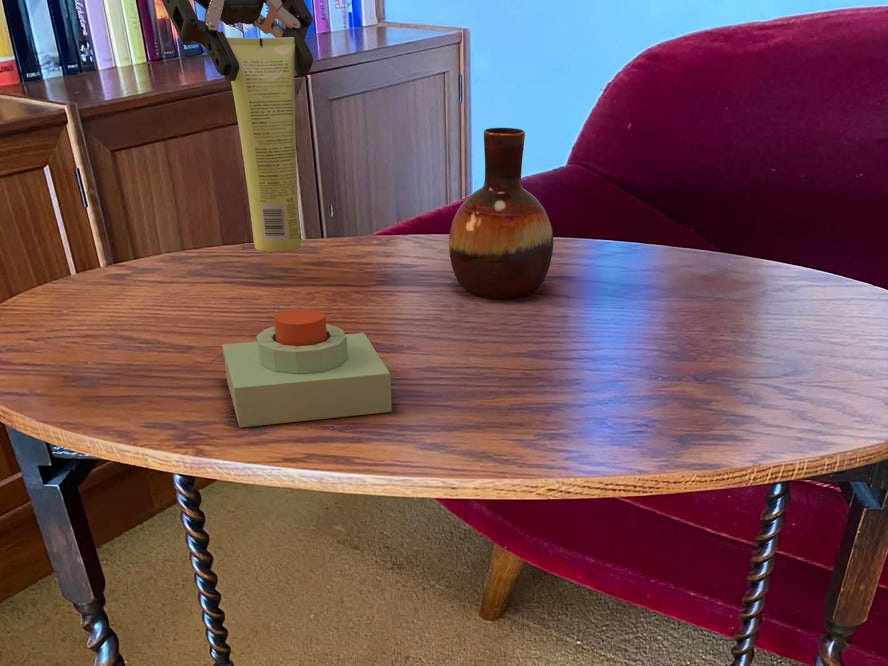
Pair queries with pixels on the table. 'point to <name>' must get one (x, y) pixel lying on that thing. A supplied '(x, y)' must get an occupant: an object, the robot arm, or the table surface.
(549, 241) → the vase
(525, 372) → the table surface
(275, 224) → the tube
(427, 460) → the table surface
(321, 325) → the red push button
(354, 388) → the push button base
